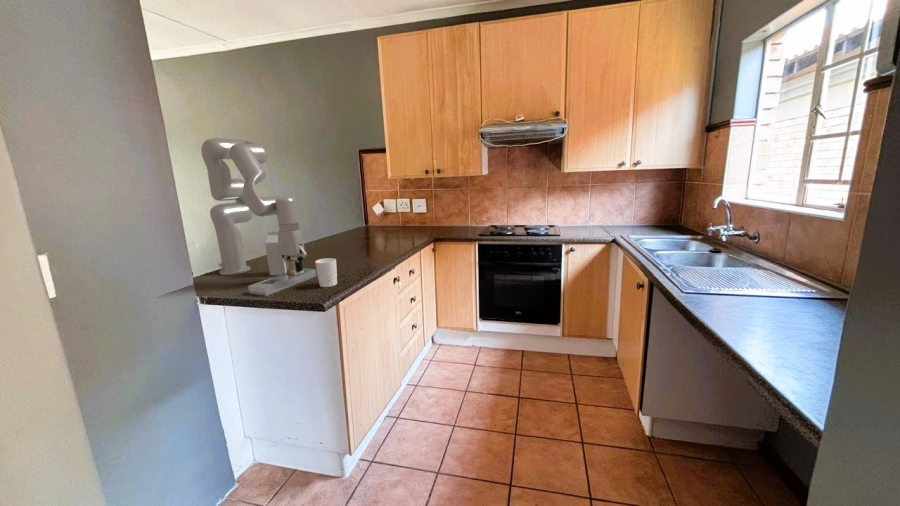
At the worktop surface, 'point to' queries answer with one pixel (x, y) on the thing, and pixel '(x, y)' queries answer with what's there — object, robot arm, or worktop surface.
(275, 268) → the milk carton
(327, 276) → the white cup
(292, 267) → the maple block
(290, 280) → the white flat bar
